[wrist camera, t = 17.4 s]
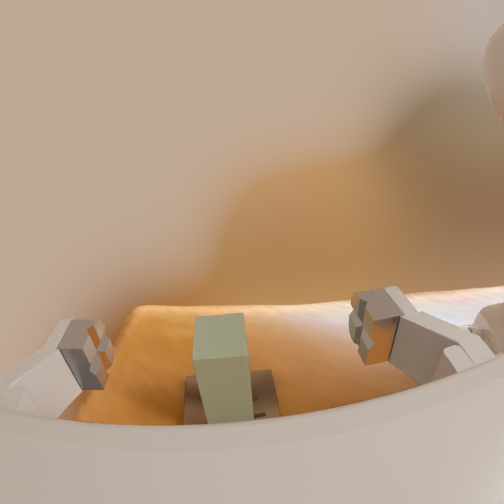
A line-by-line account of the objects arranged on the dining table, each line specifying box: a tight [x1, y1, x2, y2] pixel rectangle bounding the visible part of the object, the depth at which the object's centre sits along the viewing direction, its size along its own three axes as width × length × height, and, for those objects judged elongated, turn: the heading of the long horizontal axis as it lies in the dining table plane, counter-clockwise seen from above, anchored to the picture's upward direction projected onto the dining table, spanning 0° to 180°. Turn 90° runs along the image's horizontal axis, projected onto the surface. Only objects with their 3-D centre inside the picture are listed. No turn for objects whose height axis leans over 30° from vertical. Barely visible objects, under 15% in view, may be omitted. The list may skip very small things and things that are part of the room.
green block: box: [192, 313, 254, 424], centre depth 29 cm, size 6×4×10 cm
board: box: [183, 370, 281, 425], centre depth 27 cm, size 19×10×1 cm, turn 5°
